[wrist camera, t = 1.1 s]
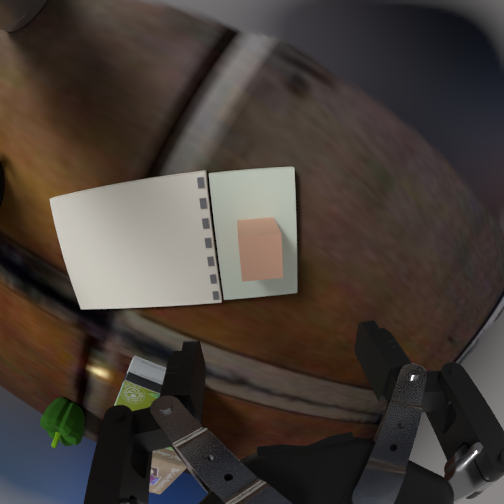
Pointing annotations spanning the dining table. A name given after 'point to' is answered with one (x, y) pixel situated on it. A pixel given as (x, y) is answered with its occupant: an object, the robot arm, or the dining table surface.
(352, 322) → the dining table surface
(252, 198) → the stub
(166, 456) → the tea box
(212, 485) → the robot arm
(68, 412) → the bell pepper
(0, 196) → the french press
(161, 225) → the white notebook
